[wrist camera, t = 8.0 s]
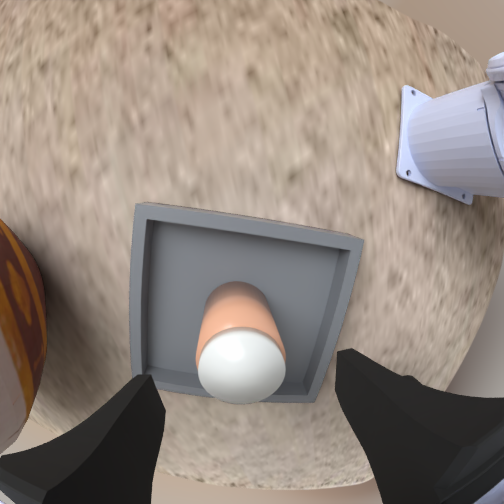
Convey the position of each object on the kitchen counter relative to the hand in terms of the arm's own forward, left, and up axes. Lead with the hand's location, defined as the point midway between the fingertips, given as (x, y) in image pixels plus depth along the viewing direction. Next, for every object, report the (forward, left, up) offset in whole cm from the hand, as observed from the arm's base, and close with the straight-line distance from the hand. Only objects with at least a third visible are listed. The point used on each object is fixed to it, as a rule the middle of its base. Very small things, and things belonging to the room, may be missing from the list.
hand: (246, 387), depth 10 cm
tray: (0, +1, -10) cm, 10 cm away
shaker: (0, +1, -9) cm, 9 cm away
